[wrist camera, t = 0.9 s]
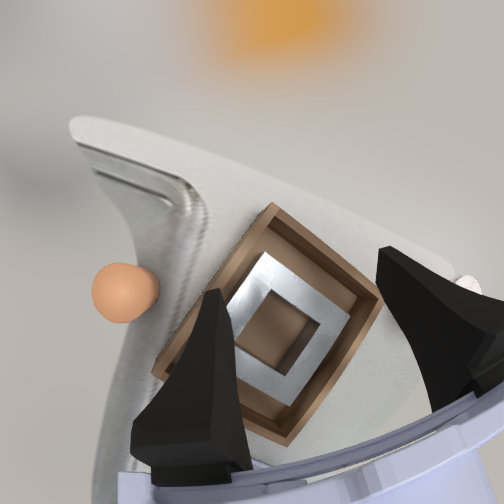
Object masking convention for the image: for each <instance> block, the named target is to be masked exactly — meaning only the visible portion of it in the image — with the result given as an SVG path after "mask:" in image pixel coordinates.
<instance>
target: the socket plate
mask: <svg viewBox="0 0 504 504" xmlns="http://www.w3.org/2000/svg"><path fill="white" fill-rule="evenodd" d="M268 292H270V293H271V294H272V295H274V296H275V297H277V298H278V299H279V300H281V301H282V302H284V303H285V304H286V305H288V306H289V307H291V308H292V309H293V310H295V311H296V312H298V313H299V314H301V315H302V316H303V317H305V318H306V319H308V321H307V323H306V324H305V326H304V327H303V329H302V330H301V332H300V333H299V335H298V336H297V338H296V339H295V341H294V342H293V344H292V345H291V347H290V348H289V350H288V351H287V352H286V354H285V355H284V357H283V358H282V360H281V361H280V363H279V364H278V365H277V367H274V366H272V365H271V364H269V363H267V362H266V361H264V360H263V359H261V358H259V357H258V356H256V355H255V354H253V353H251V352H250V351H248V350H247V349H245V348H244V347H242V346H240V345H239V344H237V343H236V342H235V359H236V377H238V378H239V379H241V380H243V381H245V382H246V383H248V384H250V385H251V386H253V387H255V388H257V389H258V390H260V391H262V392H264V393H266V394H267V395H269V396H271V397H273V398H275V399H276V400H278V401H280V402H282V403H284V404H286V405H288V406H290V405H291V404H292V403H293V401H294V400H295V399H296V397H297V396H298V395H299V393H300V392H301V390H302V389H303V388H304V386H305V385H306V383H307V382H308V381H309V379H310V378H311V376H312V375H313V373H314V372H315V371H316V369H317V368H318V366H319V365H320V363H321V362H322V360H323V359H324V357H325V356H326V354H327V353H328V351H329V350H330V348H331V347H332V345H333V343H334V342H335V340H336V339H337V337H338V336H339V334H340V332H341V331H342V329H343V328H344V326H345V324H346V323H347V321H348V319H349V318H350V315H349V314H347V313H346V312H345V311H343V310H342V309H341V308H339V307H338V306H337V305H335V304H334V303H333V302H331V301H330V300H329V299H327V298H326V297H325V296H323V295H322V294H321V293H319V292H318V291H317V290H315V289H314V288H313V287H311V286H310V285H309V284H307V283H306V282H305V281H304V280H302V279H301V278H300V277H298V276H297V275H296V274H294V273H293V272H292V271H290V270H289V269H288V268H286V267H285V266H283V265H282V264H281V263H279V262H278V261H277V260H275V259H274V258H273V257H271V256H270V255H269V254H267V253H266V252H262V253H259V254H257V255H256V257H255V258H254V260H253V261H252V262H251V264H250V265H249V267H248V268H247V270H246V271H245V272H244V274H243V275H242V277H241V278H240V279H239V281H238V282H237V284H236V285H235V287H234V288H233V289H232V291H231V292H230V294H229V295H228V297H227V298H226V299H225V304H226V307H227V310H228V313H229V316H230V318H231V323H232V329H233V335H234V341H235V340H236V339H237V337H238V336H239V334H240V333H241V331H242V330H243V329H244V327H245V326H246V324H247V323H248V321H249V320H250V319H251V317H252V316H253V314H254V313H255V311H256V310H257V309H258V307H259V306H260V304H261V303H262V301H263V300H264V298H265V297H266V295H267V294H268Z"/></svg>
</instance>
